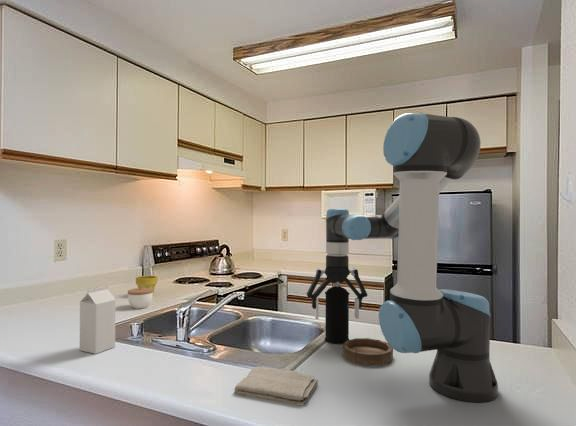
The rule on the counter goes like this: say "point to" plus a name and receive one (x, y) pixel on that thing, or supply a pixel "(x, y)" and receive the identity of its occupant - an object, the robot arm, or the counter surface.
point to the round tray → (367, 351)
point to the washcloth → (277, 385)
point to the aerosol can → (337, 315)
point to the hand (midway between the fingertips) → (336, 318)
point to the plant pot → (146, 282)
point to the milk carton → (97, 321)
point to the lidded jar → (140, 297)
